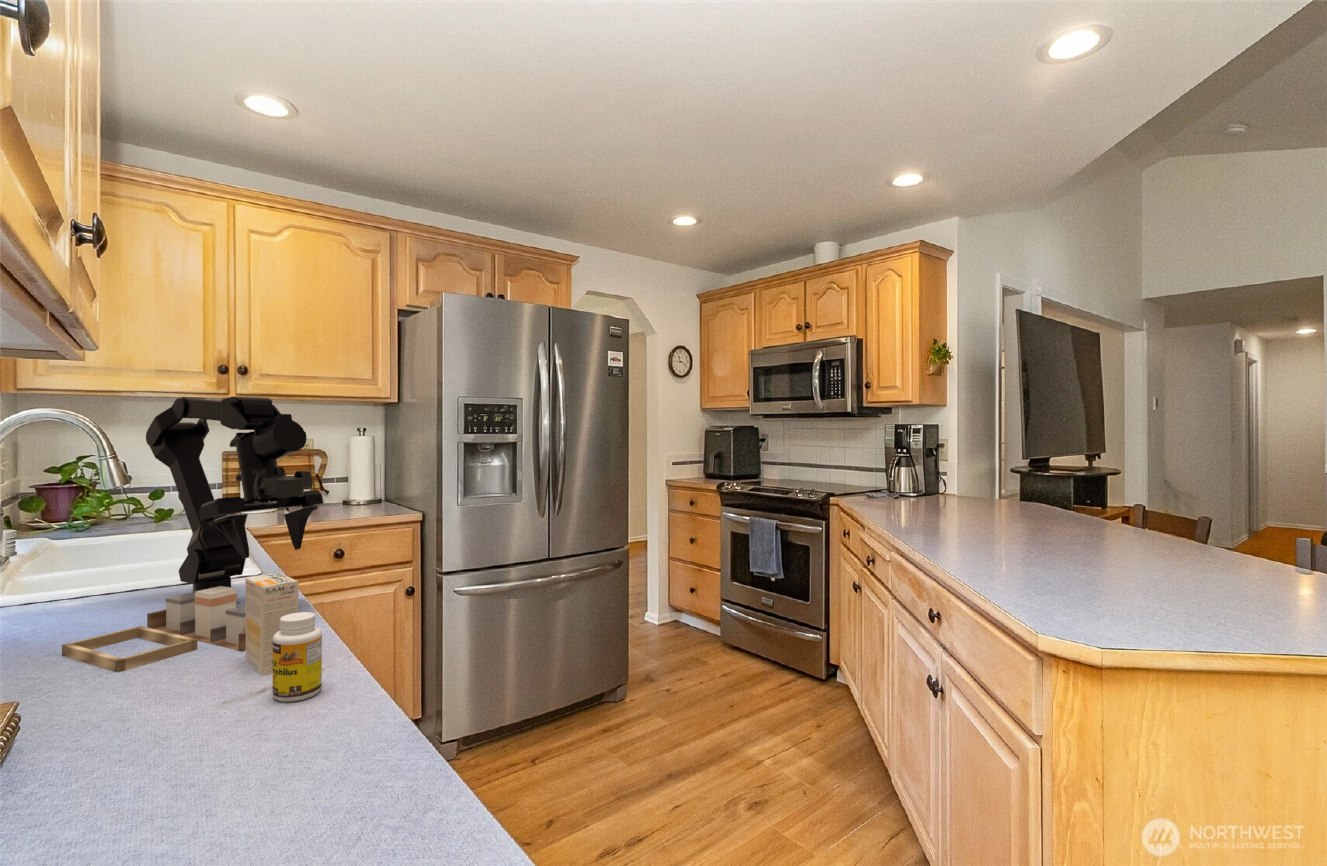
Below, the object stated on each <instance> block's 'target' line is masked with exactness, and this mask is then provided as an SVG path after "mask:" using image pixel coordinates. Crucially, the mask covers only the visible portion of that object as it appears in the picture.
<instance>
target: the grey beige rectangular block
mask: <svg viewBox="0 0 1327 866" xmlns="http://www.w3.org/2000/svg"><path fill="white" fill-rule="evenodd" d="M165 609H166V628H168V629H173V630H177V631H180V622H183V621H187V620H191V619H195V593H193V591H192V592H189V593H184V594H183V593H182V594H179V595H174V596H169V597H165Z"/></svg>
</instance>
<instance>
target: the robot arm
mask: <svg viewBox="0 0 1327 866" xmlns="http://www.w3.org/2000/svg"><path fill="white" fill-rule="evenodd" d="M183 419H198V420H197V422H196V423H195V422H183V421H182V420H183ZM208 420H209V421H218V422H220V424H221V426H223V427H226V428H228V429H230V430H238V431H248V432H236V433H235V436H234V437H233V438H232V439H231V440H230V442H229V447H230V448H236V449H235V450H236V457H237V460H238V461H237V462H238V467H239V472H240V474H238V475H236V476H235V480H236V482H241V485H242V492H243V497H241V496H231V497H229V496H228V497H218V498H216V499H215V497H214V494H213V492H212V489H211V487H210V483H209V481H208V479H207V475H206V472H205V470H204V467H203V464H202V462H201V459H200V457H201V454H202V453H203V450H204V447H205V438H207V435H208V434H209V433H210V428H209V424H208ZM307 437H308V436H307V432H306V431H305V430H304V428H303V427H302V426H301V424H299V422H297V421H295V420H293V416H292V414H290V413H281V412H280V410H279V409H278V408H277V407H276V405H274V404H273V400H272V399H271V398H269V397H257V396H256V397H253V396H228V397H223V398H221V400H219V399H207V398H205V397H193V396H192V397H191V396H182V397H178V398H176V399H175V400H174V402H173V403H172V406H170V407H168V408H167V409H165V410H164V411H162V412H160V413H159V414H157V415H156V416H155V417H154V418H153V420H152V422H151V423H150V425H149V427H148V428H147V430H146V433H145V441H146V444H147V446H149V448H150V450H151V452H152V454H153V456H154V458H155V459H156V460H158V461H159V462H161V463H162V464H163V465H165V466H166V467H168V468H169V470H170V474H171V475H172V478H173V482H174V484H175V486H176V490H177V494H178V496H179V498H180V501H181V504H182V507H183V509H184V513H185V515H186V516H185V517H186V519H187V520H188V521H187V522H188V525H189V527H190V530H191V537H190V539H189V543H188V545H187V547H186V551H187V556H186V557H185V560H183V562H182V563H181V565H180V567H179V569H178V575H179V581H180V582H183V583H187V584H192V592H193V593H195V591H200V590H205V589H209V588H214V587H219V586H224V587H230V588H233V587H232V577H234V576H242V575H243V574H244V573H243V572H244V568H245V564H246V559H249V557H250V547H249V541H248V535H247V531H246V522H247V519H248V512H258V511H265V510H266V511H267V510H277V509H278V510H279V509H285V511H286V512H288V513H285V514H284V515H283V517H284V521H285V523H286V526H287V527H286V528H287V531H288V534H289V537H290V540H291V543H292V545H293V548H294V550H295V551H298V550H300V549H301V548H302V544H303V539H304V535H305V530H306V526H307V523H308V520H309V517H310V516H311V514H312V513H313V512H314V511H317V510H318V508H319V506H322V505H324V504H325V503H324V498H323V497H324V496H323V494H322V492H320V491H319V490H318V489H317V490H311V489H312V488H313V477H312V472H311V471H310V470H309V471H308V470H296V471H295V473H294V475H287V474H286V472H285V471H286V470H285V469H284V467H283V466H279V465H278V464H279V463H278V459H281V458H283V457H286V456H288V455H291V454H293V453H296V452H298V451H300V450H302V449H303V448H304V447H305V446H306V443H307V439H308V438H307Z"/></svg>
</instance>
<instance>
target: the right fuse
mask: <svg viewBox="0 0 1327 866" xmlns="http://www.w3.org/2000/svg"><path fill="white" fill-rule="evenodd" d="M243 632H246V604H244V605H241V606H236V608H232V609H228V610H226V642H228V643H233V644H237V645H239V634H240V633H243Z"/></svg>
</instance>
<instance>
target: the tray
mask: <svg viewBox="0 0 1327 866" xmlns="http://www.w3.org/2000/svg"><path fill="white" fill-rule="evenodd" d="M134 639H135V640H136V639H142V640H146V641H150V642H154V643H157V644H161V645H165V646H163V647H158V648H156V649H152V650H148V651H144V652H141V653H137V654H133V655H130V656H129V655H128V656H126V657H119V656H115V655H112V654H108V653H104V652H101V651H97V650H95V649H100V648H103V647H107V646H111V645H115V644H119V643H123V642H126V641H130V640H134ZM194 651H198V641H197V639H193V638H189V637H185V636H181V635H177V634H172V633H168V632H164V631H160V630H156V629H151V628H147V626H142V625H140V626H135V627H131V628H126V629H123V630H119V631H118V630H117V631H115V632H114V631H113V632H110V633H105V634H103V635H98V636H93V637H90V638H86V639H81V640H77V641H73V642H70V643H65V644H61V656H63V657H65V658H69V659H73V660H76V661H79V662H82V663H86V664H89V665H92V666H96V667H99V668H103V669H106V670H109V671H114V673H115V672H116V673H121V672H125V671H128V670H131V669H132V670H133V669H135V668H138V667H141V666H146V665H149V664H152V663H156V662H159V661H163V660H166V659H170V658H173V657H177V656H179V655H180V656H181V655H184V654H187V653H190V652H194Z"/></svg>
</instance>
